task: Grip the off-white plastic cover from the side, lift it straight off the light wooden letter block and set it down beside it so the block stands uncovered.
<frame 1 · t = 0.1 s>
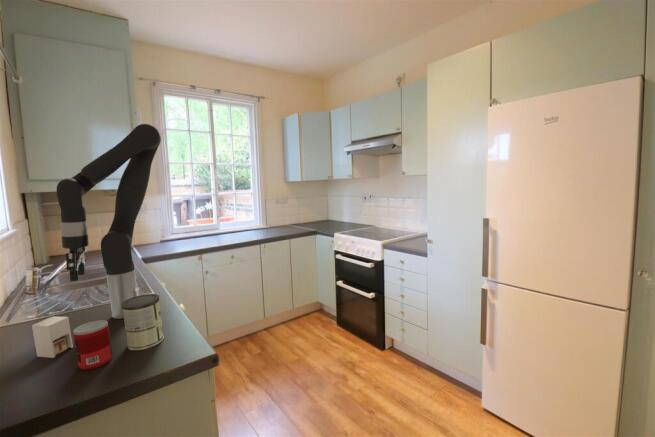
hand: (77, 277, 115), 17 cm above the countertop, tool pointing down, fingers open, 8 cm apart
cover: (55, 351, 97), on the countertop
canned food: (96, 363, 90), on the countertop
coffee can: (146, 342, 100), on the countertop
letter block: (55, 352, 97), on the countertop
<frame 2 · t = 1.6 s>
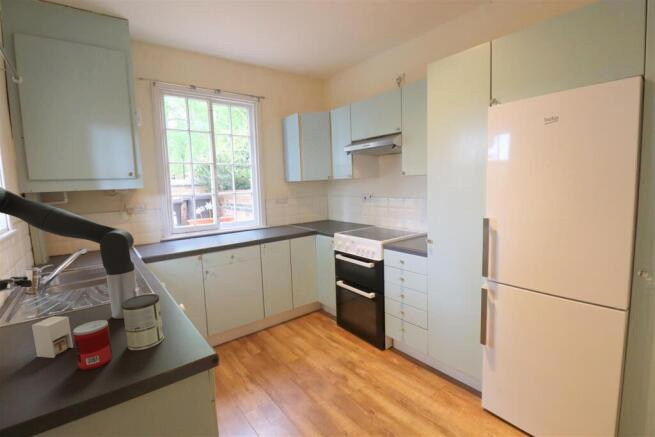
hand: (15, 288, 96), 20 cm above the countertop, tool horizontal, fingers open, 8 cm apart
nothing on the countertop moved.
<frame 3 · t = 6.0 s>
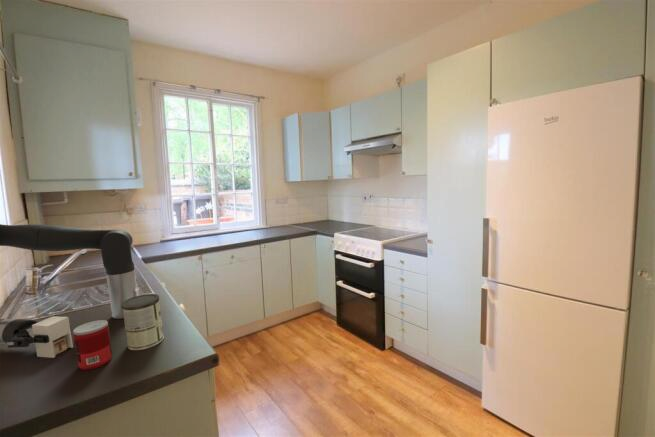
hand: (59, 333, 96), 6 cm above the countertop, tool horizontal, fingers closed on cover, 6 cm apart
cover: (55, 351, 97), on the countertop, touching gripper
everything else where it was.
when the fingers open (7 cm above the countertop, at t = 12.5 s): cover stays where it is, on the countertop.
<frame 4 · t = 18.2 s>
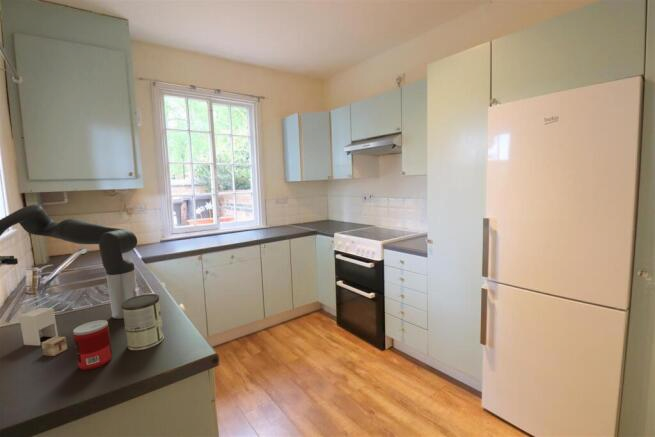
hand: (1, 264, 103), 26 cm above the countertop, tool horizontal, fingers open, 8 cm apart
cover: (41, 340, 105), on the countertop
everything else where it was.
at the end: cover inside the target area (0.0 cm from its centre), on the countertop; cover tilted 0°; letter block moved 0.1 cm from its start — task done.
